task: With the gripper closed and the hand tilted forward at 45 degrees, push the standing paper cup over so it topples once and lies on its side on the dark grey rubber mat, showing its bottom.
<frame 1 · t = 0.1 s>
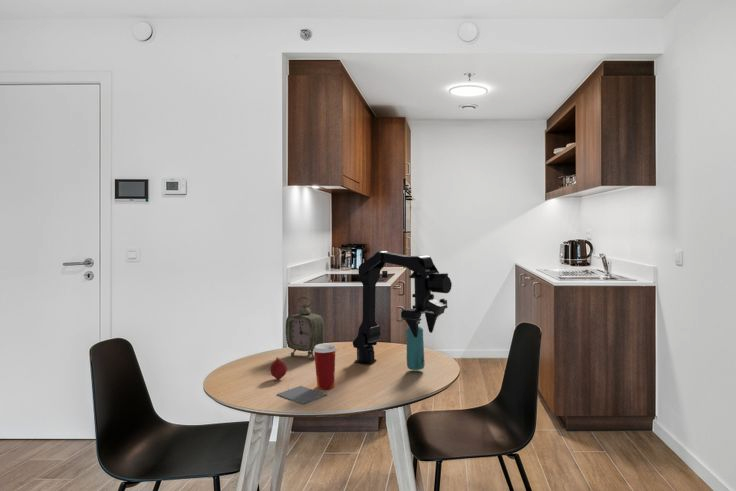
hand: (423, 334, 166), 15 cm above the table, tool pointing down, fingers open, 9 cm apart
tabletop clock: (306, 356, 195), on the table
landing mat: (301, 395, 150), on the table
beverage bottle: (415, 372, 172), on the table
paper cup: (325, 387, 157), on the table
red rounded piece: (278, 380, 166), on the table
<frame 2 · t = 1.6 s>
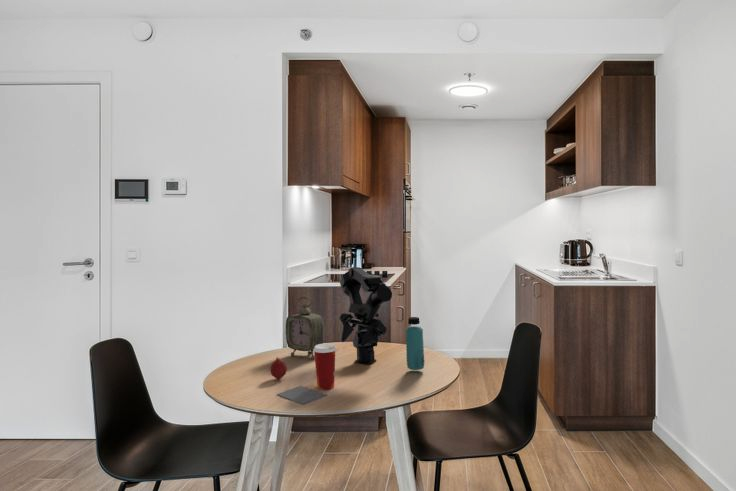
hand: (351, 343, 165), 12 cm above the table, tool tilted 45°, fingers open, 9 cm apart
nothing on the table moved.
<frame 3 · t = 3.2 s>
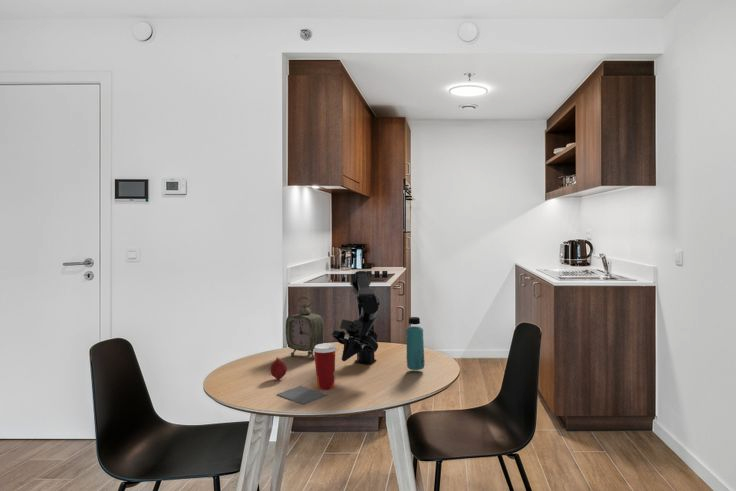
hand: (342, 360, 163), 7 cm above the table, tool tilted 45°, fingers closed
nothing on the table moved.
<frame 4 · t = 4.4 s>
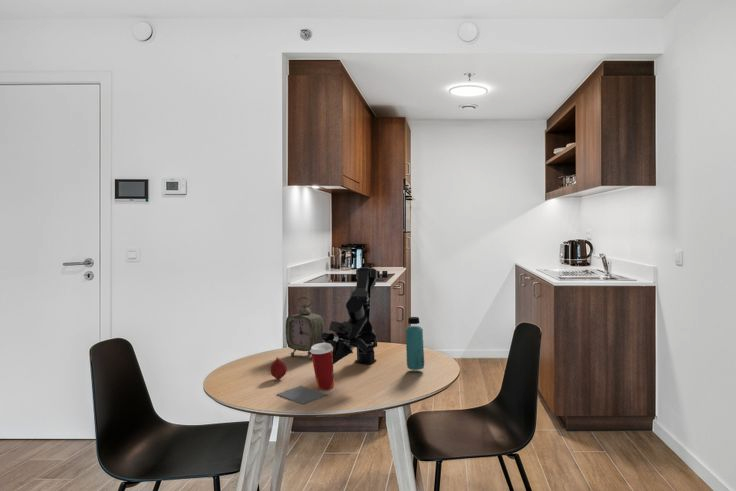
hand: (331, 363, 159), 7 cm above the table, tool tilted 45°, fingers closed
paper cup: (325, 386, 157), on the table, touching gripper
everything else where it was.
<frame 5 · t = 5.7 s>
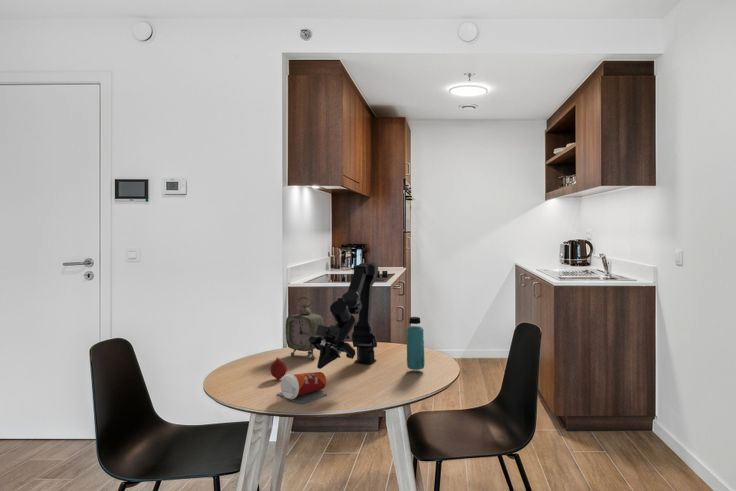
hand: (318, 368, 155), 7 cm above the table, tool tilted 45°, fingers closed
paper cup: (321, 380, 155), point 3 cm above the table, touching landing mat
everything else where it was.
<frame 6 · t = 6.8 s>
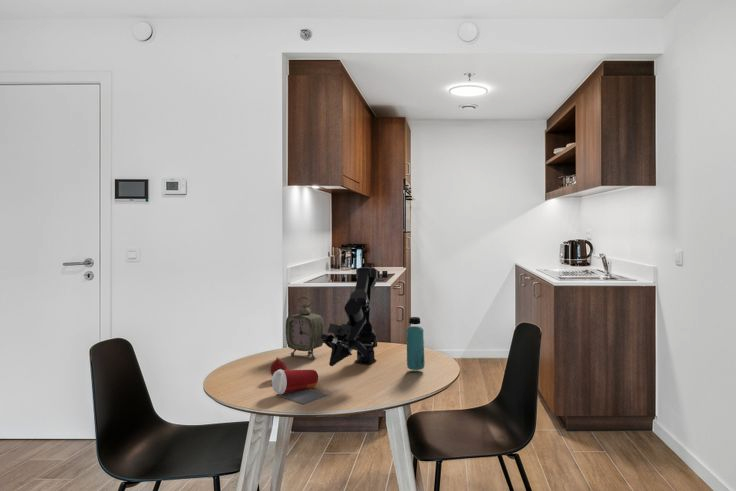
hand: (330, 365, 159), 7 cm above the table, tool tilted 45°, fingers closed
paper cup: (314, 378, 158), point 3 cm above the table, touching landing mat
everything else where it was.
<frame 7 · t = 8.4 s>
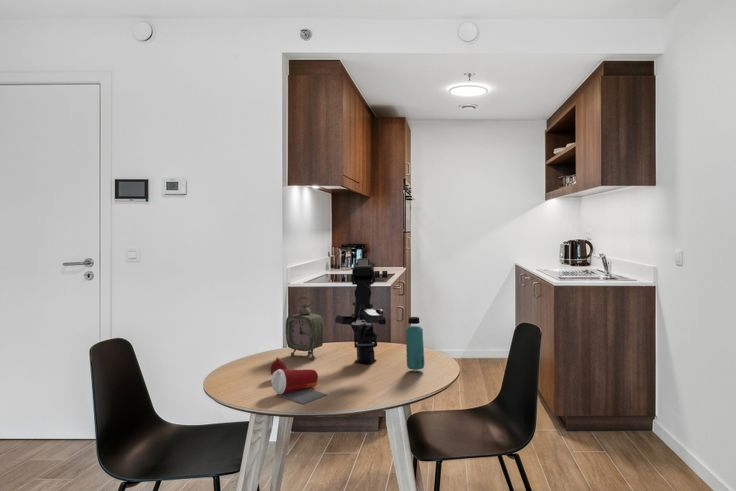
hand: (359, 343, 168), 11 cm above the table, tool pointing down, fingers closed
nothing on the table moved.
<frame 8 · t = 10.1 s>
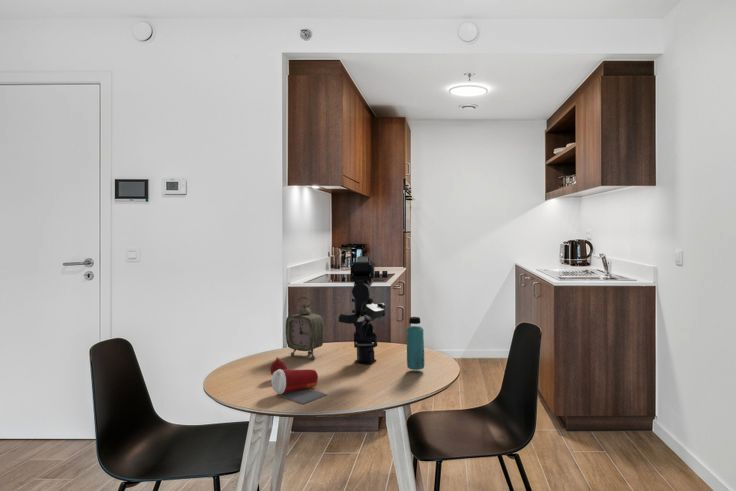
hand: (362, 338, 169), 13 cm above the table, tool pointing down, fingers closed
nothing on the table moved.
at the end: paper cup tilted 82°; paper cup inside the target area (8.1 cm from its centre), point 2.8 cm above the table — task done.
